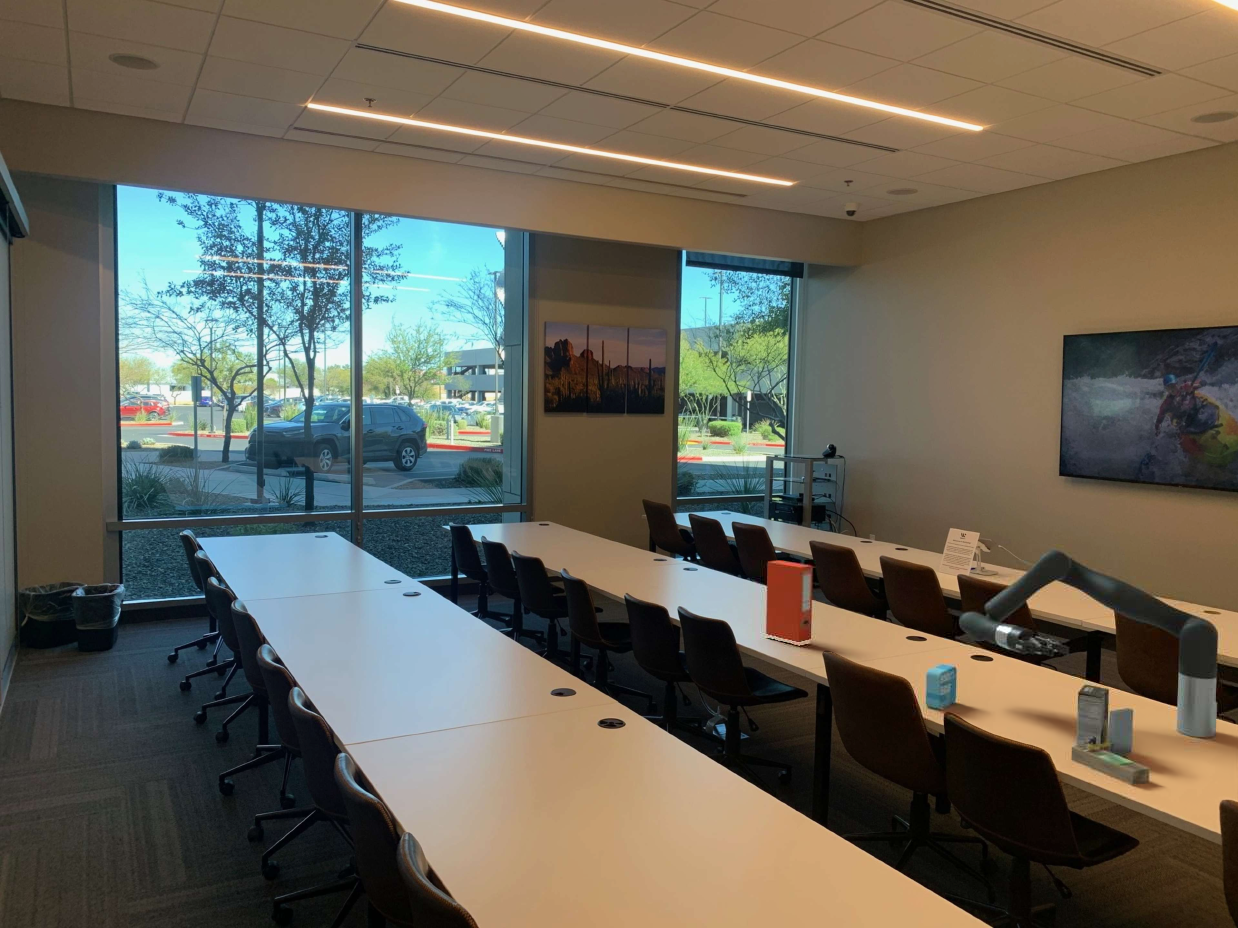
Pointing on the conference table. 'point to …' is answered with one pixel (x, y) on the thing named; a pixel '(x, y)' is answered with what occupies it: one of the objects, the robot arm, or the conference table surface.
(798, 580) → the file binder
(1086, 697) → the coffee box
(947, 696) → the data package
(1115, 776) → the frame
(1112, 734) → the blue-grey flat panel
